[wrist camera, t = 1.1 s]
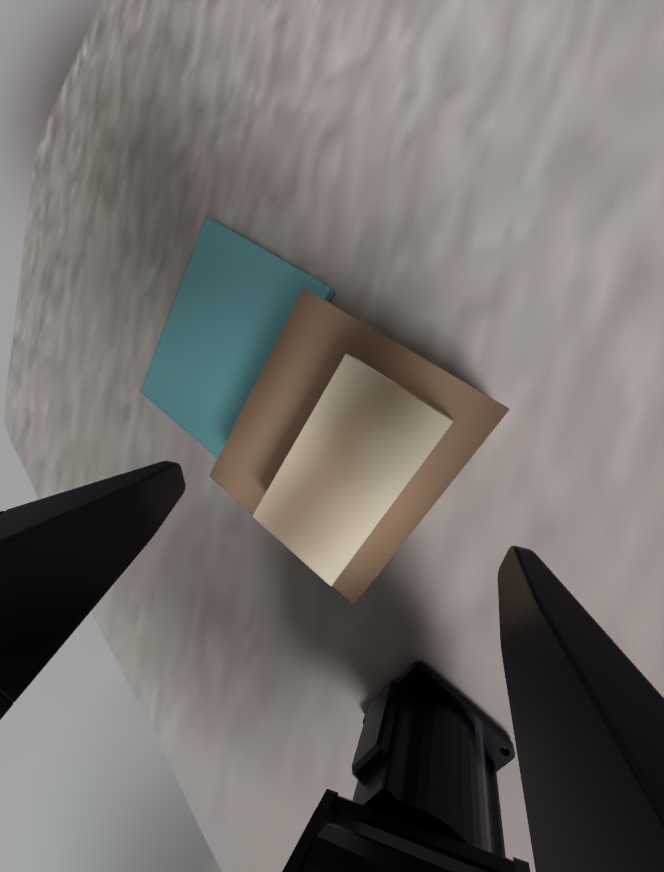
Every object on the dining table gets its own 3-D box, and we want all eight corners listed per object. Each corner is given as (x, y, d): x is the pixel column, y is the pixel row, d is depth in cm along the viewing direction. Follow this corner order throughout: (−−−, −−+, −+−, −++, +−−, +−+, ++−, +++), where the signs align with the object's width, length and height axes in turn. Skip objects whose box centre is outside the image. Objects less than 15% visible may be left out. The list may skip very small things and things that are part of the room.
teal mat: (334, 291, 19) (330, 287, 18) (239, 470, 23) (234, 472, 22) (212, 221, 21) (205, 216, 21) (147, 391, 25) (140, 391, 25)
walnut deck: (497, 408, 16) (509, 409, 12) (373, 566, 19) (353, 605, 16) (332, 310, 19) (302, 287, 15) (250, 464, 22) (209, 476, 19)
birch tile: (453, 419, 13) (453, 421, 11) (345, 565, 16) (330, 586, 14) (359, 360, 14) (345, 353, 13) (274, 504, 17) (252, 516, 15)
